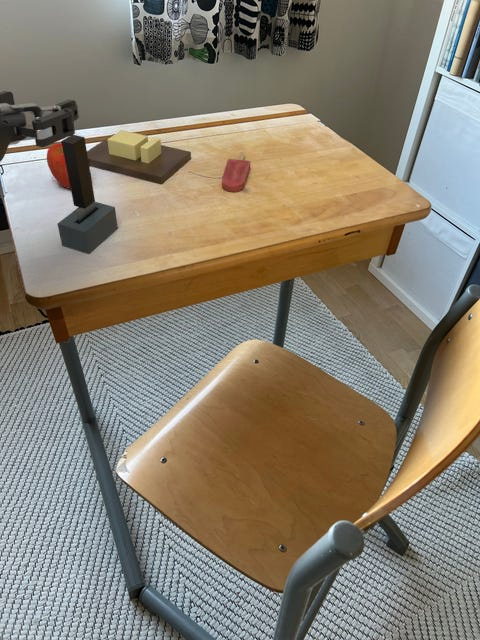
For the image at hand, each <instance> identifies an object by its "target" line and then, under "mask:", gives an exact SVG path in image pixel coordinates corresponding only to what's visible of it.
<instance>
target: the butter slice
mask: <svg viewBox="0 0 480 640" xmlns="http://www.w3.org/2000/svg"><path fill="white" fill-rule="evenodd" d="M161 140H162V139H161V138H158V137H152V138H150V139H148V142H146V143H145V144H144V145H142V146H141V147H140V151H141V162H144V163H148V164H149V163H150V162H151V161H153V160H154V159H155V158H156V157H158V156H159V155H160V154H161V145H162V142H161Z"/></svg>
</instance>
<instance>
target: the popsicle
mask: <svg viewBox="0 0 480 640" xmlns="http://www.w3.org/2000/svg"><path fill="white" fill-rule="evenodd" d="M244 157H245V152H244V151H240V152H239V155H238V158H237V159H235V158H227V160H226V164H225V167H224V171H223V175H222V179H221V187H222V189H223V190H224V191H227V192H231V193H236V192H241V191H242V190H243V189H245V186H246V183H247V181H248V177H249V173H250V170H251V161H250V160H244Z"/></svg>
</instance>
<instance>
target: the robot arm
mask: <svg viewBox="0 0 480 640" xmlns="http://www.w3.org/2000/svg"><path fill="white" fill-rule="evenodd" d="M78 108H79V107H78V104H77V102H76V100H73V99H67V100H64V101H61V102H58V103H56V104H53V105H48V106H39V105H37V104H36V103H34V102H27V103H19V104H16V103H15V99H14V93H12V92H11V91H8V90H3V91H1V92H0V163H1V162H2V161H3V159H4V158H5V156H6V154H7V151H8V148H9V146H11V145H17V144H19V143H20V142H23V141H31V140H34V141H35V146H36V147H39V148H44V147H48V146H50V145H54V144H55V143H57V142H60V141H62V140H64V139H66V138H67V137H69V136H71V135H76V129H75V122H76V121H77V120H79V118H80V116H79V109H78ZM28 112H30V116H31V124H27V118H26V114H25V113H28Z"/></svg>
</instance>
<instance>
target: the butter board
mask: <svg viewBox="0 0 480 640" xmlns="http://www.w3.org/2000/svg"><path fill="white" fill-rule="evenodd" d="M115 134H116V133H113V134H112V135H110V136H108V137H106V138H105V139H104V140H102V141H101V142H99V143H97V144H96V145H95V146H93V147H92V148H90V149H89V150H87V155H88V161H89V167H92V168H95V169H100V170H104V171H108V172H112V173H115V174H119V175H123V176H127V177H131V178H134V179H140V180H143V181H147V182H151V183H155V184H158V185H163V184H164V183H165V182H167V181H168V179H170V178H171V177H172V176H174V174H176V173H177V172H178V171H179V170H180V169H181V168H182V167H183V166H185V165H186V164H187V163H188V162H190V160H192V152H191V151H189V150H185V149H180V148H176V147H171V146H168V145H163V144H161V154H160V155H159V156H158V157H156V158H155V159H154V160H153V161H151V162H150V163H149V164H148V163H144V162H141V157H140V158H138V159H137V160H132V159H128V158H123V157H119V156H115V155H111V154H109V148H108V140H107V139H109V138H110V137H112V136H113V135H115Z"/></svg>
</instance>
